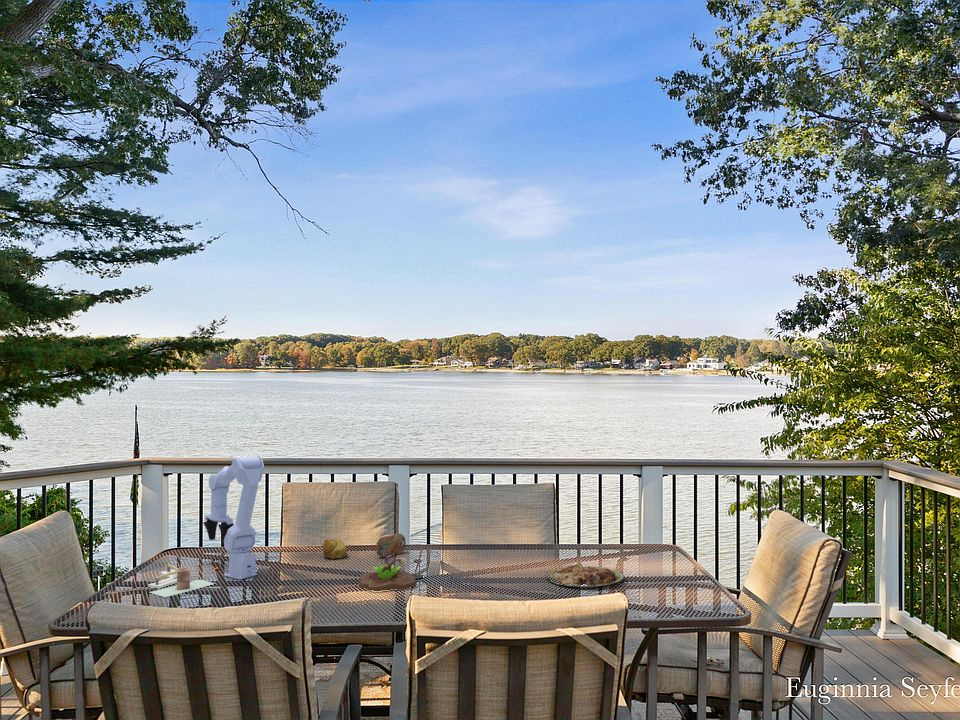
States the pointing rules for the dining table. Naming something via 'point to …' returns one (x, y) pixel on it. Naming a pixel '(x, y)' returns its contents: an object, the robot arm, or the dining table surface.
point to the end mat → (173, 590)
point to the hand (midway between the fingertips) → (218, 540)
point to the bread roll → (334, 548)
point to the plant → (387, 577)
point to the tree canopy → (391, 544)
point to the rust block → (183, 579)
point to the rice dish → (586, 576)
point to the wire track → (166, 582)
